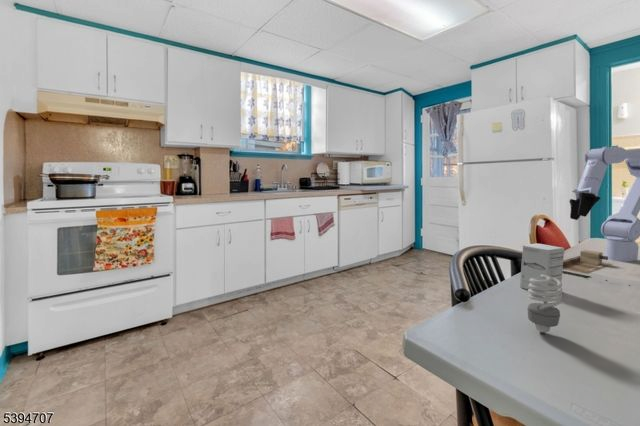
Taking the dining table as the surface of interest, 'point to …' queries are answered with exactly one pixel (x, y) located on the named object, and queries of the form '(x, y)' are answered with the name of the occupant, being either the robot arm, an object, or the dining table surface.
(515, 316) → the dining table surface
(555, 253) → the supplement box
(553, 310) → the light bulb
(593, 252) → the marking gauge
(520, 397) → the dining table surface
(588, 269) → the board
